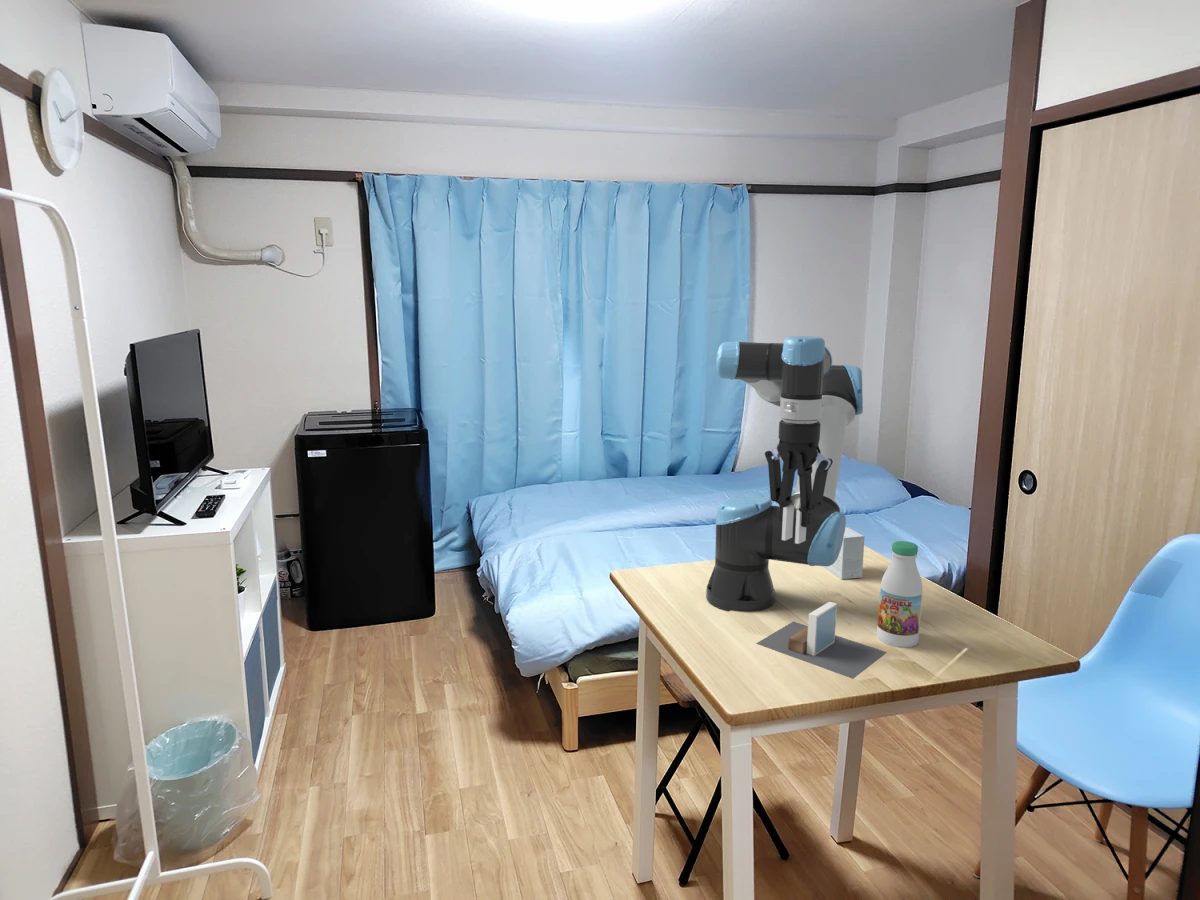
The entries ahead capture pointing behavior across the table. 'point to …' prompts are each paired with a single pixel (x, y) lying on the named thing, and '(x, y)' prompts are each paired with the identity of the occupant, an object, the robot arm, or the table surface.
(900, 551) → the milk bottle
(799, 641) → the block
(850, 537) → the small box
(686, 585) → the table surface
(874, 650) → the mat
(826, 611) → the tile
